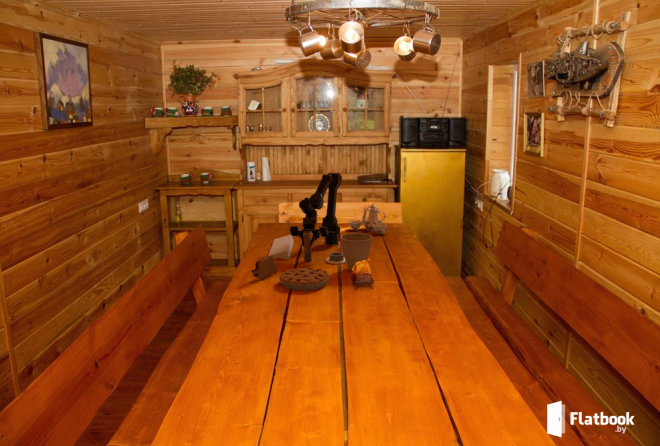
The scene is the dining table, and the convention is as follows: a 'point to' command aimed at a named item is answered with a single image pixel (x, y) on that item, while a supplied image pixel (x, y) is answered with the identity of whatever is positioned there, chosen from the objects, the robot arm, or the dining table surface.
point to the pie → (304, 278)
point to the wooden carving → (265, 268)
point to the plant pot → (355, 247)
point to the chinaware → (370, 221)
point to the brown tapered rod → (307, 246)
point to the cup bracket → (336, 258)
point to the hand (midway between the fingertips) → (307, 246)
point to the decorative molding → (281, 247)
